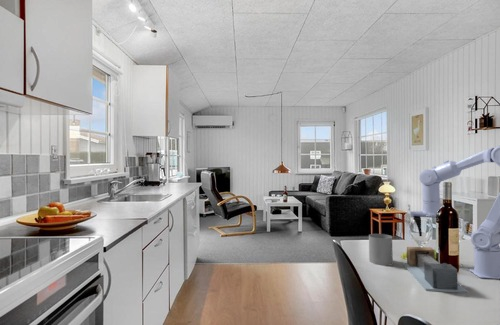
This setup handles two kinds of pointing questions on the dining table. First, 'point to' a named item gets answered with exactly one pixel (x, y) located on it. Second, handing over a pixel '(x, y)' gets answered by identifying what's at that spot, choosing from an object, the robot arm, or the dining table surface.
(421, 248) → the socket
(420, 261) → the bar
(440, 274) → the sleeve
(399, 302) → the dining table surface
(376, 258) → the cup
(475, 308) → the dining table surface
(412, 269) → the board
